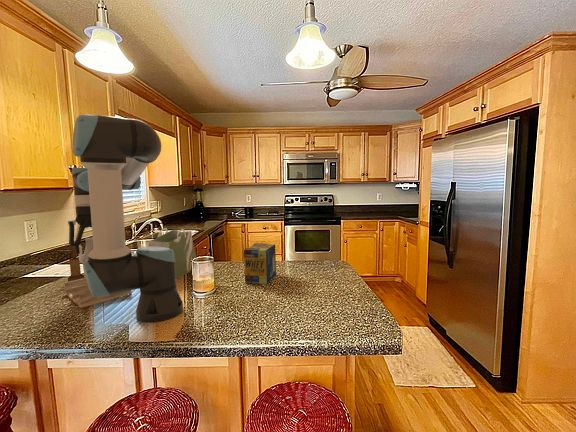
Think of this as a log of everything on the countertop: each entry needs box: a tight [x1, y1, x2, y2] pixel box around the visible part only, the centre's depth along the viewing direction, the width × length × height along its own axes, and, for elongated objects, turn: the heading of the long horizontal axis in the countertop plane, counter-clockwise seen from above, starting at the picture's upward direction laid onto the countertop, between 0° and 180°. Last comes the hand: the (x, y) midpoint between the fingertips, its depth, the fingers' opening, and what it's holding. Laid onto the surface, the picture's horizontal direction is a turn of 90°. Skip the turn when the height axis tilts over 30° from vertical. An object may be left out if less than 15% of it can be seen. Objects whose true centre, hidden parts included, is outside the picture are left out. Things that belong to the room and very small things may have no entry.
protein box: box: [243, 242, 277, 286], centre depth 141 cm, size 10×15×16 cm
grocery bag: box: [147, 227, 198, 280], centre depth 155 cm, size 32×14×23 cm, turn 175°
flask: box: [80, 237, 94, 264], centre depth 129 cm, size 7×7×10 cm
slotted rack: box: [64, 277, 133, 309], centre depth 127 cm, size 22×18×5 cm
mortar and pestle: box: [67, 245, 85, 282], centre depth 145 cm, size 7×6×18 cm
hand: (91, 259), depth 129 cm, fingers closed on flask, 7 cm apart
